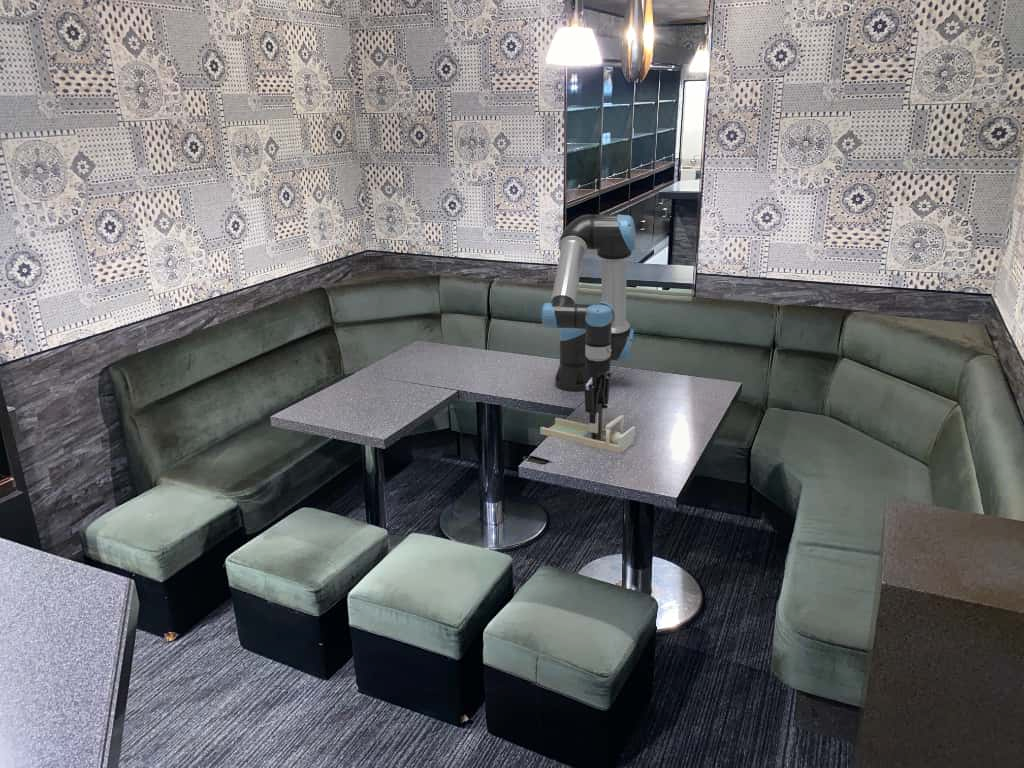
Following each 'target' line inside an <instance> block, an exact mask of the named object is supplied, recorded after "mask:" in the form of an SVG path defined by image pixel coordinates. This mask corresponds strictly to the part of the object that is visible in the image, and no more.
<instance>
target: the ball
mask: <svg viewBox="0 0 1024 768" xmlns="http://www.w3.org/2000/svg"><path fill="white" fill-rule="evenodd" d="M621 435H622V434H621V433H619V431H617V432H615V433H613V434H612V435H611V436H610V441H611V443H612V444H615V445H618V437H620V436H621Z"/></svg>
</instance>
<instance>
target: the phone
mask: <svg viewBox="0 0 1024 768" xmlns="http://www.w3.org/2000/svg"><path fill="white" fill-rule="evenodd" d="M530 455H531V454H527V453H526V454H523V456H522V461H523V460H524V461H526V459H528V460H527V461H526V462H530V463H534V462H535V463H534V464H539V465H546V464H548V463H549V462H551V460H549V459H545V458H542V457H538V456H533V455H531V456H530ZM529 456H530V457H529ZM528 457H529V458H528Z"/></svg>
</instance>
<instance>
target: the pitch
mask: <svg viewBox="0 0 1024 768" xmlns="http://www.w3.org/2000/svg"><path fill="white" fill-rule="evenodd" d="M624 419H625V415H624V414H620V415H618V416H617V417H616V418H614V419H613V420H612V421H610V422H609V423H607V424H605V425H604V426H605V428H604V429H601V433H605V434H606V442H603V441H599V440H594V439H590V438H586V437H583V436H584V435H585V434H587V433H588V432H589V424H586V423H582V422H577V421H573V420H568V419H564V418H560V417H555V419H554V424H553V425H552V426H550V427H548V428H547V427H544V426H540V427H539V428H540V429H539V431H540V432H539V434H540V435H544V436H548V437H552V438H556V439H560V440H564V441H568V442H572V443H576V444H580V445H583V446H588V447H591V448H592V447H593V448H596V449H600V450H604V451H608V452H612V453H616V454H622V453H623V452H625V451H626V450H627V449H628V448H629V447H630V446H632V445H633V444H634V443H635V442H636V426H634V425H633V426H631V427H630V428H629V429H628V430H626V431H625V432H624V422H625V421H624ZM618 423H619V429H618V431H616V430H614V431H615V432H619V433H621V434H622V435H621V436H620V437H618V445H615V444H612V443H610V431H611V430H612V428H613V427H614V426H615V425H617V424H618ZM550 435H551V436H550Z"/></svg>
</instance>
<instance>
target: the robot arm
mask: <svg viewBox="0 0 1024 768" xmlns="http://www.w3.org/2000/svg"><path fill="white" fill-rule="evenodd" d="M636 236H637V235H636V226H635V220H634V218H633V217H632V216H631V215H628V214H620V213H619V214H583V215H580V216H579V217H577V218H575V219H574V220H572V221H571V222H570V223H569V224H568V225H567V226H566V227H565V229H564V230H563V232H561V236H560V237H559V240H558V241H559V242H558V251H559V257H558V263H557V268H556V273H555V278H554V283H553V284H554V285H553V290H552V295H551V299H550V300H551V301H550V302H545V303H543V305H542V308H541V323H542V325H543V327H546V328H552V329H560V330H559V366H558V369H557V371H556V375H555V378H554V386H555V387H557V388H558V389H561V390H563V391H567V392H568V391H569V392H582V391H584V412H585V413H587V414H588V415H589V419H588V422H589V423H588V425H589V432H593V433H598V413H597V406H598V401H599V402H601V403H602V416H601V429H605V428H604V426H605V409H606V410H607V409H608V404H609V396H610V395H609V394H610V381H611V376H612V373H611V372H609V371H610V370H611V361H615V362H618V361H627V360H628V359H629V358H630V356H631V355H630V354H631V350H632V345H633V339H634V332H635V329H634V328H632V327H631V325H630V323H629V321H627V319H626V318H627V275H628V274H627V273H628V272H627V269H628V259H629V258H630V257H631V256H632V252H633V251H635V250H636V248H637V238H636ZM587 250H588V251H589V250H594V251H596V255H597V257H598V258H599V259H601V301H600V302H597V303H595V304H585V303H583V304H582V303H576V300H577V295H578V289H579V282H580V277H581V276H580V275H581V271H582V265H583V264H582V263H583V259H584V256H585V255H586V253H587Z"/></svg>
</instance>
